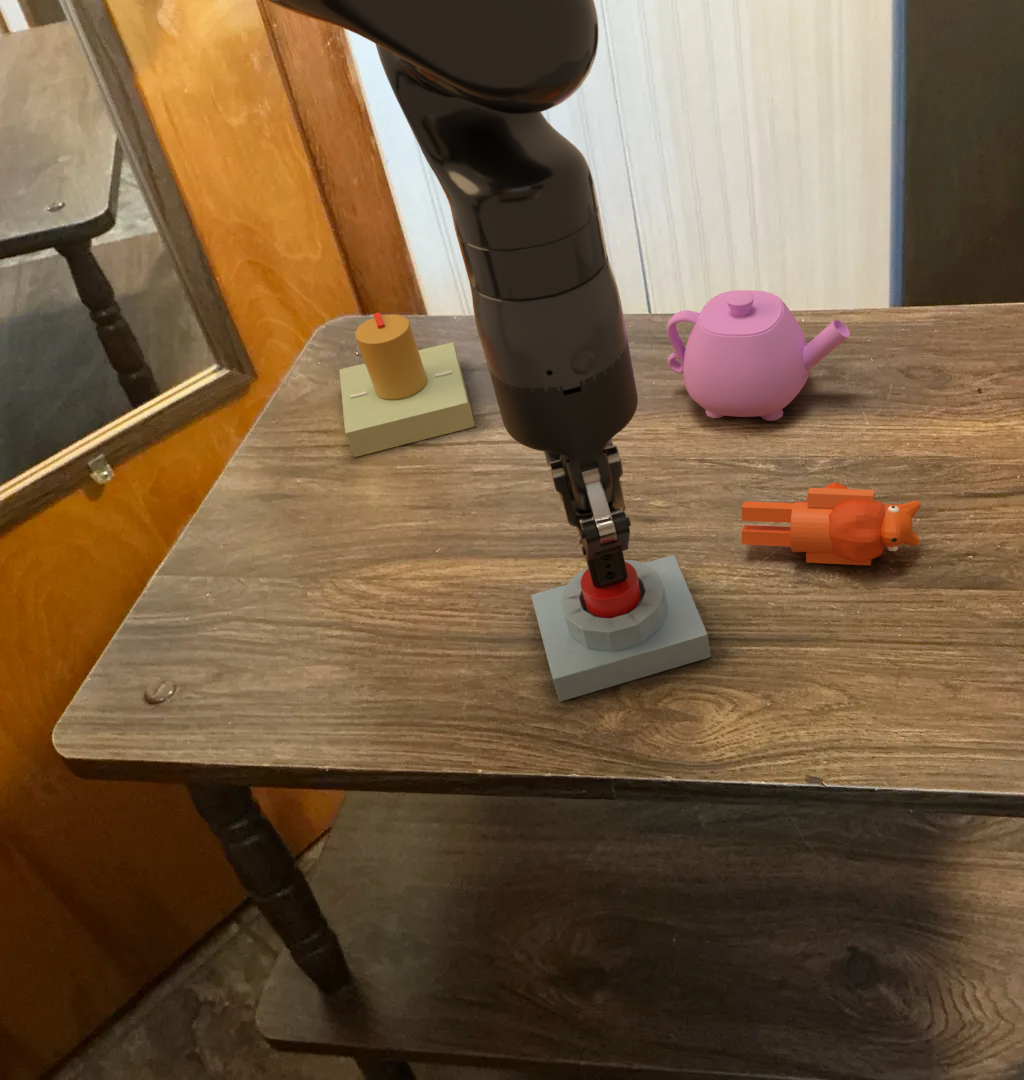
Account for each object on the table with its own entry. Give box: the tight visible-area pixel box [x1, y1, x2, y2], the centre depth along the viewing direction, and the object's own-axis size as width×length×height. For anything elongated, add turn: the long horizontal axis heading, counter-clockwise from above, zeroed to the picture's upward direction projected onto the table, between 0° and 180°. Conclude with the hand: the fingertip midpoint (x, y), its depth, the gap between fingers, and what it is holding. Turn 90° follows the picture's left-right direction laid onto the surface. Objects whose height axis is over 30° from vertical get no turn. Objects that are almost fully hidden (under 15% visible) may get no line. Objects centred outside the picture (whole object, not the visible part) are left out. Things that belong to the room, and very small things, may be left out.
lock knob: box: [354, 312, 427, 400], centre depth 94 cm, size 4×4×6 cm
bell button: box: [581, 562, 641, 618], centre depth 72 cm, size 4×4×2 cm
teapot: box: [666, 289, 851, 422], centre depth 91 cm, size 10×15×9 cm
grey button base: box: [530, 554, 712, 702], centre depth 74 cm, size 10×8×4 cm
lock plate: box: [338, 341, 476, 458], centre depth 97 cm, size 10×10×3 cm
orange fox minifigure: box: [741, 482, 921, 566], centre depth 78 cm, size 5×8×12 cm
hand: (609, 577), depth 72 cm, fingers closed
